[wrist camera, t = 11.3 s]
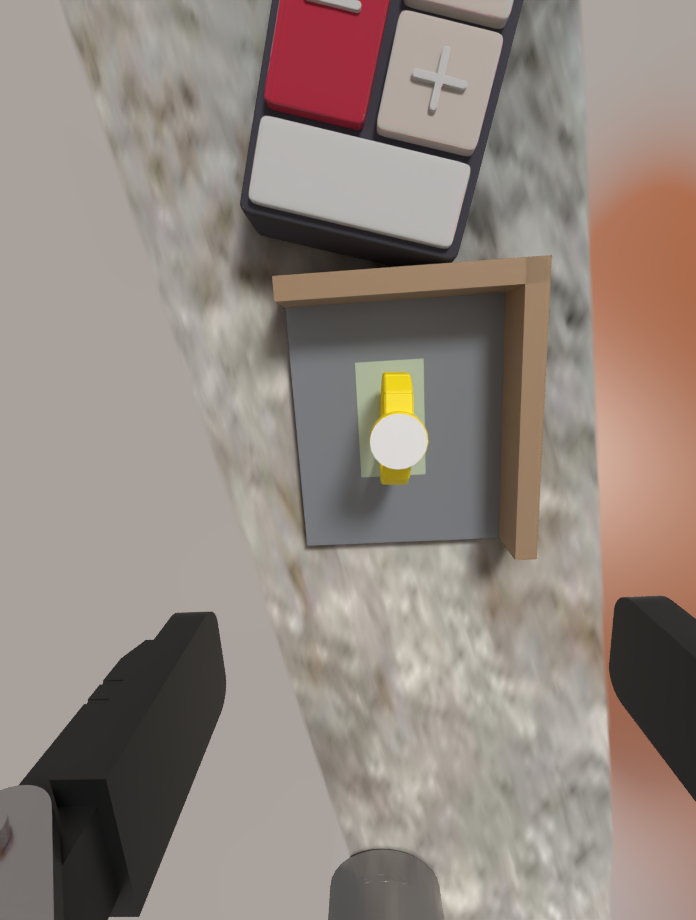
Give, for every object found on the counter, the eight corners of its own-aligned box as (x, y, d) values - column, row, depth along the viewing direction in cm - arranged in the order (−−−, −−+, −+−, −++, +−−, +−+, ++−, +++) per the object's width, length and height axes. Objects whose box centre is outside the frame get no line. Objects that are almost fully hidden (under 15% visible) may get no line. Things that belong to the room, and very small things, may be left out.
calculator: (560, -130, 17) (460, 258, 20) (520, -30, 21) (442, 279, 24) (295, -198, 17) (233, 204, 20) (308, -83, 21) (255, 234, 24)
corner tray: (514, 533, 28) (536, 559, 24) (308, 541, 28) (300, 568, 25) (524, 269, 24) (551, 255, 20) (284, 286, 24) (271, 276, 21)
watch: (412, 465, 26) (425, 504, 21) (367, 464, 27) (368, 503, 21) (416, 367, 25) (432, 381, 19) (369, 367, 25) (370, 381, 19)
